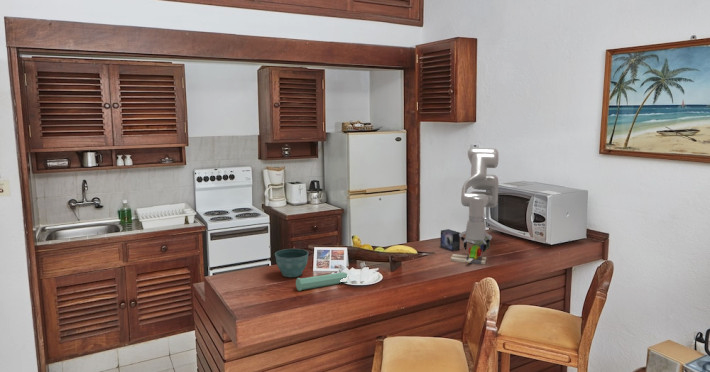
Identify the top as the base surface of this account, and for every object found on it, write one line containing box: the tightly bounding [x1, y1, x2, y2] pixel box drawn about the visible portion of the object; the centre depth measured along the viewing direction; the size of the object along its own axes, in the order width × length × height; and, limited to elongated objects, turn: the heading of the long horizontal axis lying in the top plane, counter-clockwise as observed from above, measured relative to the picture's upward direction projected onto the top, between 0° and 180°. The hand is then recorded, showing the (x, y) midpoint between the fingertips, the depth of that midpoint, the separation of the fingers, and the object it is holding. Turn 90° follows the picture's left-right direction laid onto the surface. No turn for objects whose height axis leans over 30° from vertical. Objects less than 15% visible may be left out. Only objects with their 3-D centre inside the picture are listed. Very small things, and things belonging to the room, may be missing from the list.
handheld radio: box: [473, 236, 491, 253], centre depth 288 cm, size 7×3×25 cm
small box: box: [439, 228, 461, 252], centre depth 293 cm, size 11×6×10 cm, turn 33°
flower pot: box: [274, 248, 309, 278], centre depth 242 cm, size 16×16×11 cm
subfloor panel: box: [450, 253, 487, 265], centre depth 270 cm, size 9×18×2 cm, turn 72°
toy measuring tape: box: [464, 244, 483, 264], centre depth 267 cm, size 6×19×7 cm, turn 149°
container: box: [295, 271, 348, 292], centre depth 228 cm, size 6×6×25 cm
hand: (474, 250), depth 269 cm, fingers open, 9 cm apart
